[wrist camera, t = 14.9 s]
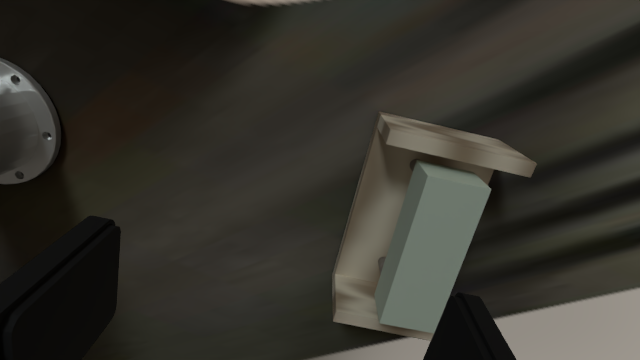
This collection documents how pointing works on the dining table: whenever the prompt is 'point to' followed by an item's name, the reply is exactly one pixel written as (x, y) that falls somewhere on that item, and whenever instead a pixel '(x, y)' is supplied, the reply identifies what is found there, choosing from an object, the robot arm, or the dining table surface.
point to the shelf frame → (387, 199)
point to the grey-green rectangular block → (429, 245)
